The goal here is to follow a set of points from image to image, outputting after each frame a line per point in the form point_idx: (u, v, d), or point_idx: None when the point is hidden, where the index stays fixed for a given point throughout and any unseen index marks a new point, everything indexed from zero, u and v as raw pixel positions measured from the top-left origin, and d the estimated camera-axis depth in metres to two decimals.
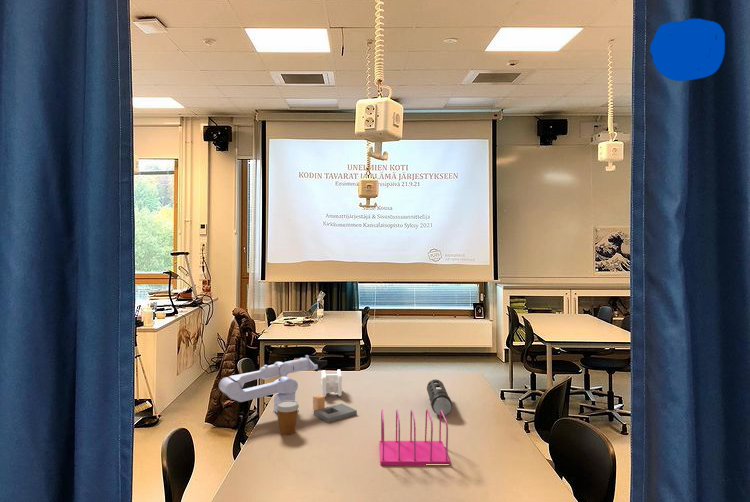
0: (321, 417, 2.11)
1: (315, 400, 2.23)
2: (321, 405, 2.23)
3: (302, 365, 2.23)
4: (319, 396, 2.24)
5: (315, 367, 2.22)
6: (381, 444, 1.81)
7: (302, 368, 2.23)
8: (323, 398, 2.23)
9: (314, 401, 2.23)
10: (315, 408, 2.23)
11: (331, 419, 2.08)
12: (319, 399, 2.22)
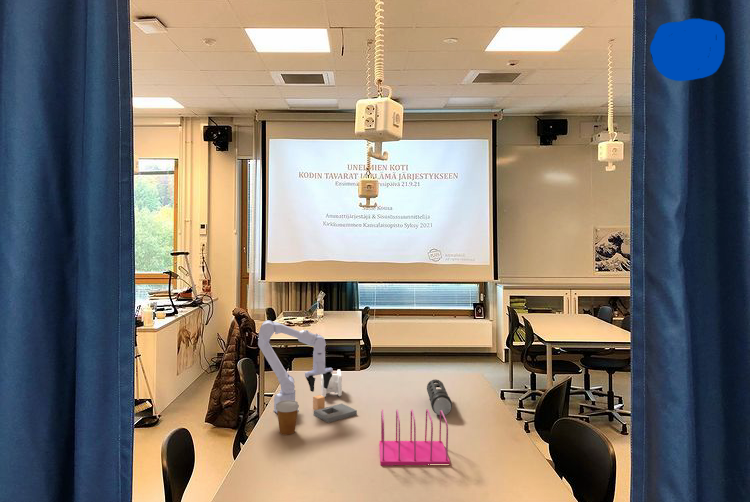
0: (321, 417, 2.11)
1: (315, 400, 2.23)
2: (321, 405, 2.23)
3: (314, 363, 2.22)
4: (319, 396, 2.24)
5: (305, 374, 2.19)
6: (381, 444, 1.81)
7: (313, 363, 2.23)
8: (323, 398, 2.23)
9: (314, 401, 2.23)
10: (315, 408, 2.23)
11: (331, 419, 2.08)
12: (319, 399, 2.22)
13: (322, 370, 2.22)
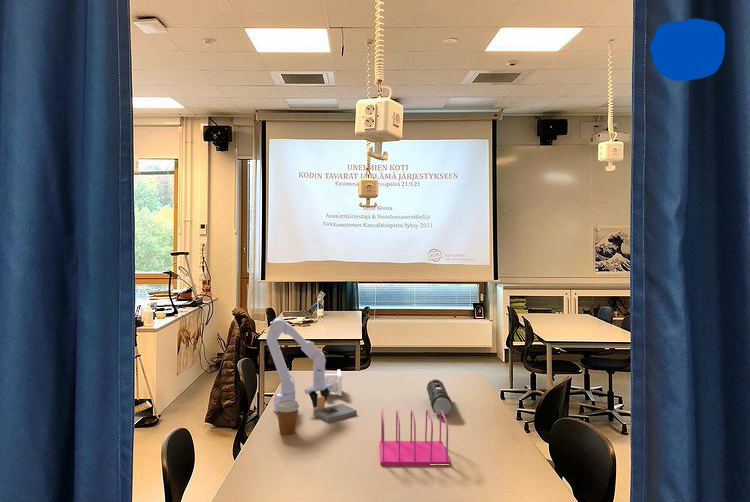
0: (321, 417, 2.11)
1: None
2: (321, 405, 2.23)
3: (314, 380, 2.22)
4: (319, 396, 2.24)
5: (305, 390, 2.19)
6: (381, 444, 1.81)
7: (313, 379, 2.23)
8: (323, 398, 2.23)
9: None
10: (315, 408, 2.23)
11: (331, 419, 2.08)
12: (319, 399, 2.22)
13: (322, 386, 2.22)
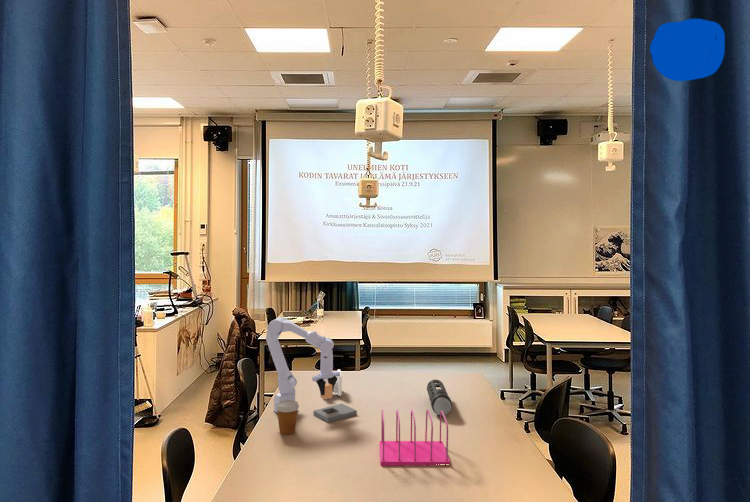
0: (321, 417, 2.11)
1: None
2: (329, 393, 2.18)
3: (322, 367, 2.17)
4: (327, 384, 2.20)
5: (313, 378, 2.14)
6: (381, 444, 1.81)
7: None
8: (331, 386, 2.18)
9: None
10: (323, 396, 2.18)
11: (331, 419, 2.08)
12: (327, 387, 2.17)
13: (330, 374, 2.17)
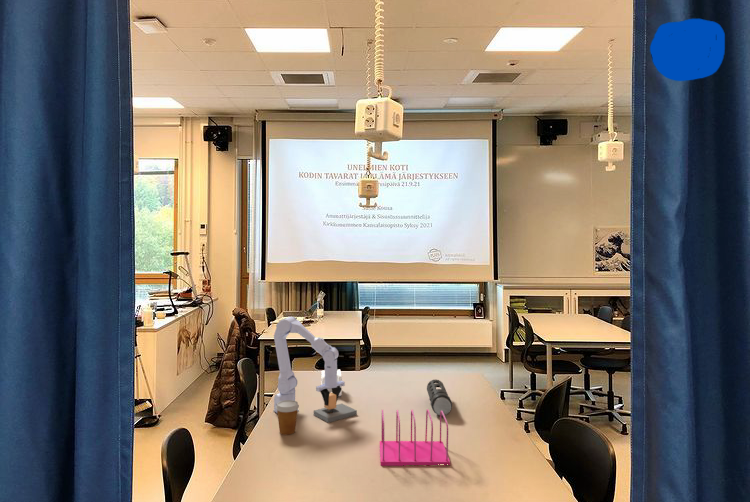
0: (321, 417, 2.11)
1: None
2: (333, 404, 2.15)
3: (326, 377, 2.14)
4: (330, 394, 2.17)
5: (317, 388, 2.12)
6: (381, 444, 1.81)
7: None
8: (335, 396, 2.16)
9: None
10: (326, 406, 2.15)
11: (331, 419, 2.08)
12: (331, 397, 2.14)
13: (334, 384, 2.14)
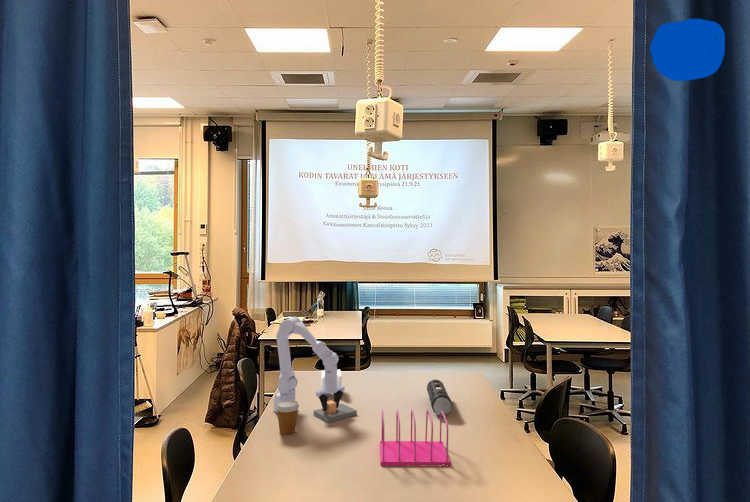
0: (321, 417, 2.11)
1: None
2: (333, 411, 2.15)
3: (326, 382, 2.14)
4: (330, 401, 2.17)
5: (317, 393, 2.12)
6: (381, 444, 1.81)
7: (324, 381, 2.15)
8: (335, 404, 2.16)
9: None
10: None
11: (331, 419, 2.08)
12: (330, 405, 2.14)
13: (334, 389, 2.14)
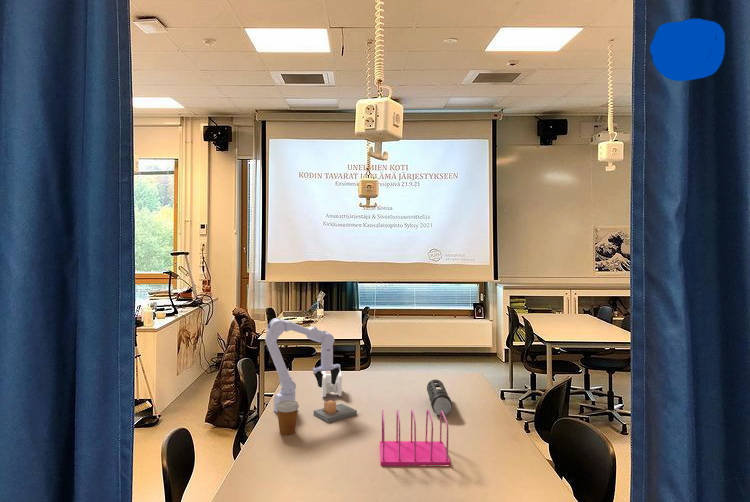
0: (321, 417, 2.11)
1: (326, 406, 2.15)
2: (333, 411, 2.15)
3: (322, 359, 2.25)
4: (330, 401, 2.17)
5: (313, 370, 2.23)
6: (381, 444, 1.81)
7: (321, 359, 2.26)
8: (335, 404, 2.16)
9: (325, 407, 2.16)
10: None
11: (331, 419, 2.08)
12: (330, 405, 2.14)
13: (330, 366, 2.25)
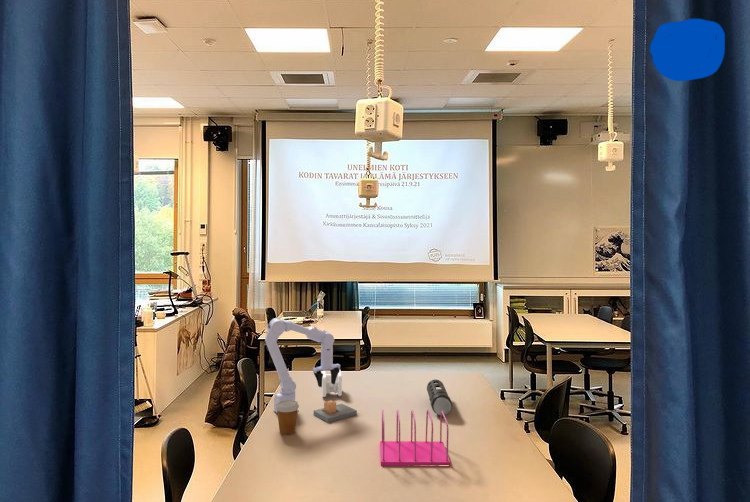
0: (321, 417, 2.11)
1: (326, 406, 2.15)
2: (333, 411, 2.15)
3: (322, 359, 2.25)
4: (330, 401, 2.17)
5: (313, 370, 2.23)
6: (382, 444, 1.81)
7: (321, 359, 2.27)
8: (335, 404, 2.16)
9: (325, 407, 2.16)
10: None
11: (331, 419, 2.08)
12: (330, 405, 2.14)
13: (330, 366, 2.26)
